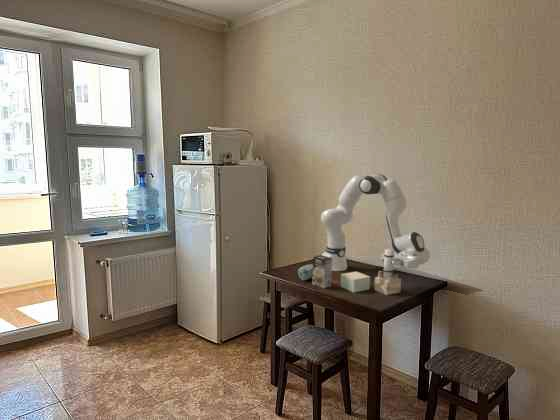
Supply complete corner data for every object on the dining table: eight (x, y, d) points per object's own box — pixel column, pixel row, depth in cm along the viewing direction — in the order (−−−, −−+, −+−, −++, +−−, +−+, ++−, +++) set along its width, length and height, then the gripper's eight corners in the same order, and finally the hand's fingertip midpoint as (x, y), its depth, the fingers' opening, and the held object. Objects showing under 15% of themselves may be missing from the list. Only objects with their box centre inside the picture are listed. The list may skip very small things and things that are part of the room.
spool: (306, 278, 217) (304, 260, 221) (295, 282, 223) (293, 265, 227) (323, 279, 225) (321, 262, 229) (312, 283, 232) (309, 267, 236)
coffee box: (311, 284, 216) (312, 256, 214) (319, 282, 220) (320, 254, 218) (323, 288, 209) (324, 259, 207) (331, 286, 213) (332, 257, 211)
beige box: (340, 286, 213) (340, 274, 212) (355, 283, 218) (356, 271, 218) (353, 292, 204) (354, 279, 203) (369, 289, 209) (370, 276, 208)
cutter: (328, 284, 217) (328, 281, 216) (333, 282, 221) (333, 279, 221) (350, 289, 208) (350, 287, 207) (355, 287, 212) (355, 284, 212)
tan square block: (374, 289, 208) (375, 271, 207) (387, 287, 213) (388, 269, 212) (386, 295, 200) (387, 276, 199) (400, 291, 205) (401, 273, 204)
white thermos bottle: (380, 277, 207) (382, 249, 205) (387, 276, 209) (389, 249, 207) (387, 280, 202) (389, 251, 201) (394, 278, 205) (396, 250, 203)
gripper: (391, 249, 220) (373, 251, 213) (421, 257, 202) (402, 260, 195) (391, 260, 221) (373, 263, 214) (420, 268, 203) (401, 272, 196)
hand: (387, 261), depth 204 cm, fingers open, 5 cm apart
